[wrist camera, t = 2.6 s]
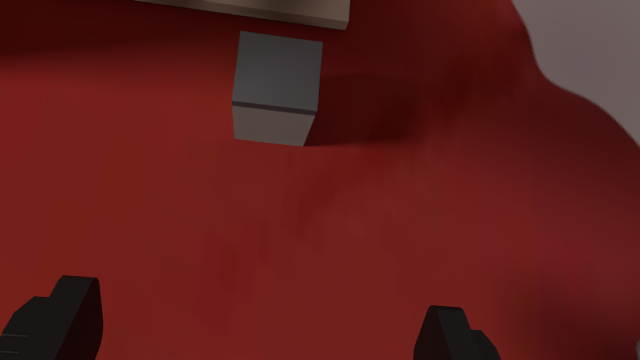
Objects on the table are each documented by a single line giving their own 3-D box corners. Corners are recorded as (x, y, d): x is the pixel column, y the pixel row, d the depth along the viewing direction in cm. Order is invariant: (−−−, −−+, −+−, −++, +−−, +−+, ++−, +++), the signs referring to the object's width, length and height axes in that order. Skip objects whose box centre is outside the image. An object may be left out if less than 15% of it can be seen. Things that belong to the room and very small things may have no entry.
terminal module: (234, 138, 34) (231, 100, 27) (241, 81, 35) (240, 30, 28) (303, 146, 34) (317, 111, 28) (307, 90, 35) (322, 42, 29)
